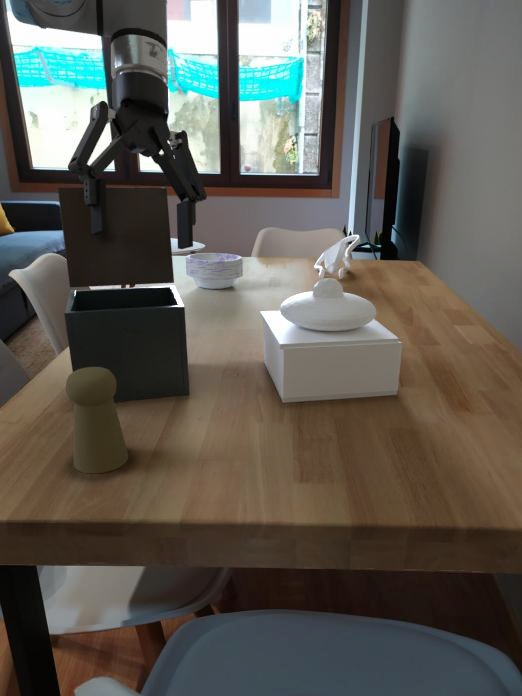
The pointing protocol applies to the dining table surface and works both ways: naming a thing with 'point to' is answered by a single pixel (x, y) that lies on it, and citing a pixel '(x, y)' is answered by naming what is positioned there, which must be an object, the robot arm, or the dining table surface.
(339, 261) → the white angular legged piece
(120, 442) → the cork
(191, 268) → the paper bowls
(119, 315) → the trash can
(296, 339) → the butter dish
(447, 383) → the dining table surface
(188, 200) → the robot arm
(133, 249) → the bin lid
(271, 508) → the dining table surface
